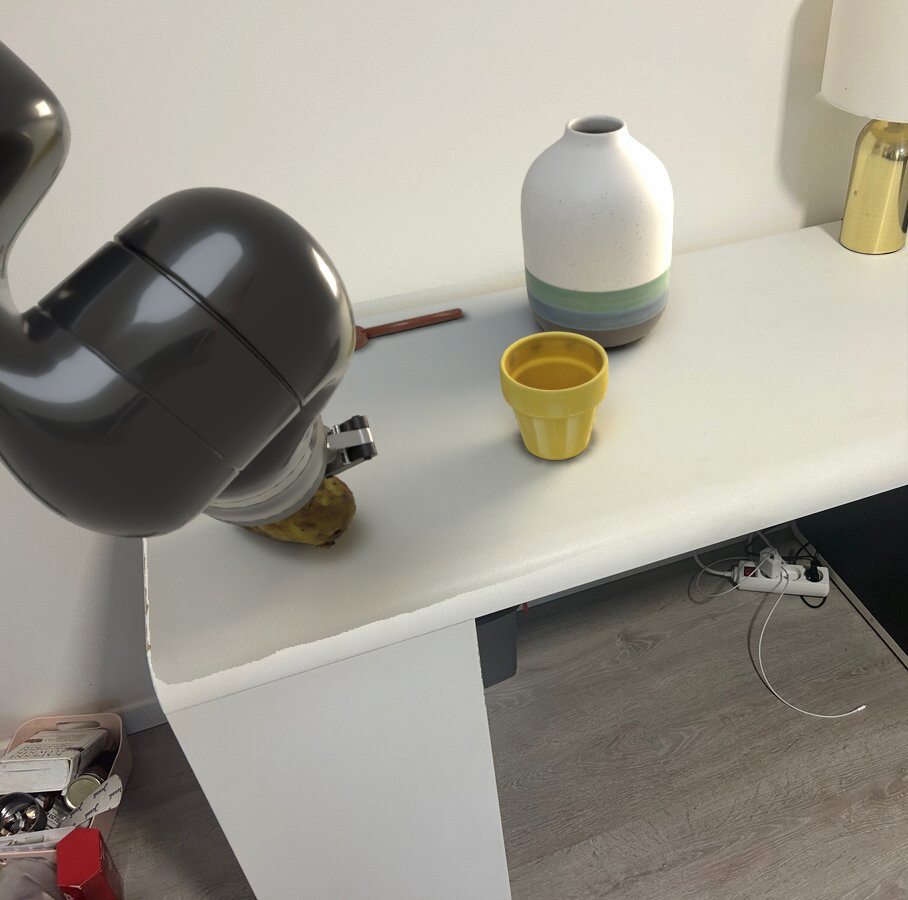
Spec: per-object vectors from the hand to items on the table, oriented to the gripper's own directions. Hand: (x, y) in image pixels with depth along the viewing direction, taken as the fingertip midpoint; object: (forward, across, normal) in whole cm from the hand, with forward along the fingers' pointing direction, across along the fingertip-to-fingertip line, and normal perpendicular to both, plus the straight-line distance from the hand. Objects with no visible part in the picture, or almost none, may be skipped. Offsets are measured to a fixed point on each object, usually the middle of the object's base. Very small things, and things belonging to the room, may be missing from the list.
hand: (273, 481), depth 57 cm
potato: (+20, 0, +3) cm, 20 cm away
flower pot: (+22, -26, +1) cm, 34 cm away
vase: (+35, -39, -13) cm, 54 cm away
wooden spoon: (+42, -16, -19) cm, 48 cm away
